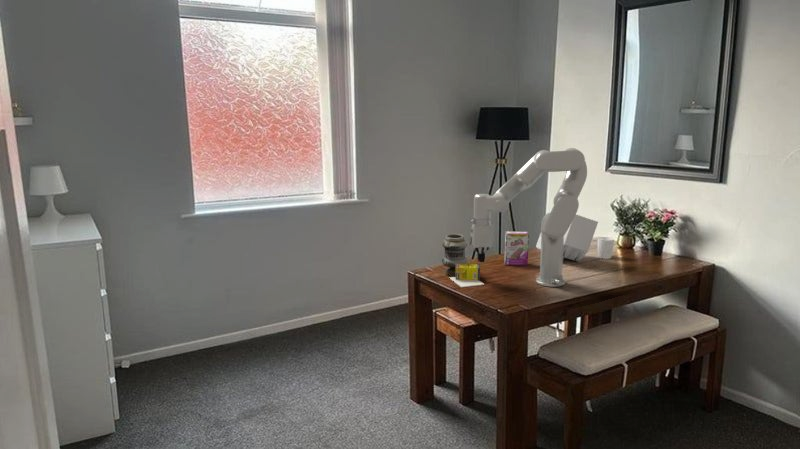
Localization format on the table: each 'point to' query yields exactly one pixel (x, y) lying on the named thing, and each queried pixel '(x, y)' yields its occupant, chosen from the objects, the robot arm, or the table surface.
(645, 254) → the table surface
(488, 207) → the robot arm
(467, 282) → the felt mat
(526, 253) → the candy bar box
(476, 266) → the supplement box
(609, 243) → the white cup
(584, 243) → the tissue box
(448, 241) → the apothecary jar
